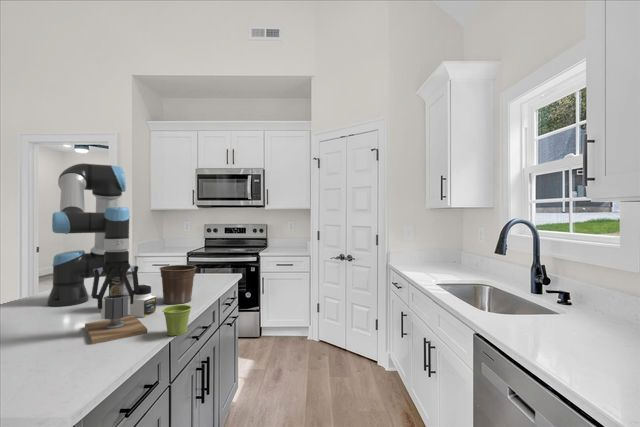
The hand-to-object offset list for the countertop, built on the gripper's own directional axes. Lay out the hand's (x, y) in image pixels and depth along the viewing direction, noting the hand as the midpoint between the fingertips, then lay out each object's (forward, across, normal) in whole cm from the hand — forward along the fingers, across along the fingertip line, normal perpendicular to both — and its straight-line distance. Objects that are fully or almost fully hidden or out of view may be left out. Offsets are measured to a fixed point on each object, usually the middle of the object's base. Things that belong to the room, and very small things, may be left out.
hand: (115, 315), depth 120 cm
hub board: (+5, 0, 0) cm, 5 cm away
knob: (0, 0, 0) cm, 0 cm away
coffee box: (+5, +7, +29) cm, 30 cm away
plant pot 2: (+6, +16, -16) cm, 23 cm away
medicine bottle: (+5, +12, +15) cm, 20 cm away
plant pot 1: (+5, +30, +28) cm, 41 cm away
